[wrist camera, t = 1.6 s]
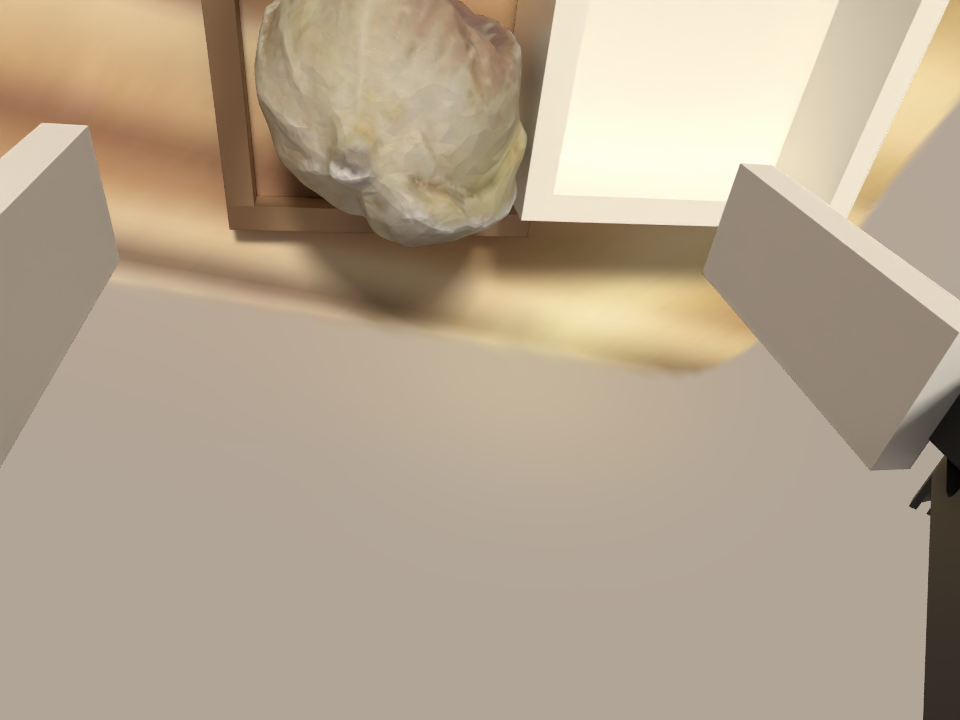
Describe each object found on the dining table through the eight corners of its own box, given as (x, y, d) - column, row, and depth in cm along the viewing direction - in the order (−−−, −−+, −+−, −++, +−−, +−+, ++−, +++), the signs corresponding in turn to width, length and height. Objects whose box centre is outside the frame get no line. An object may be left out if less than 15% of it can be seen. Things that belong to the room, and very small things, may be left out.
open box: (495, 169, 27) (521, 220, 23) (550, -259, 19) (601, -287, 16) (777, 182, 30) (841, 230, 26) (923, -191, 22) (1044, -200, 18)
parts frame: (233, 218, 26) (229, 229, 26) (182, -205, 19) (175, -207, 18) (522, 226, 29) (527, 237, 28) (582, -146, 21) (591, -146, 20)
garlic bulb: (470, 121, 28) (560, 292, 23) (267, 151, 26) (316, 346, 21) (488, -142, 21) (631, 24, 15) (203, -130, 18) (255, 67, 13)
